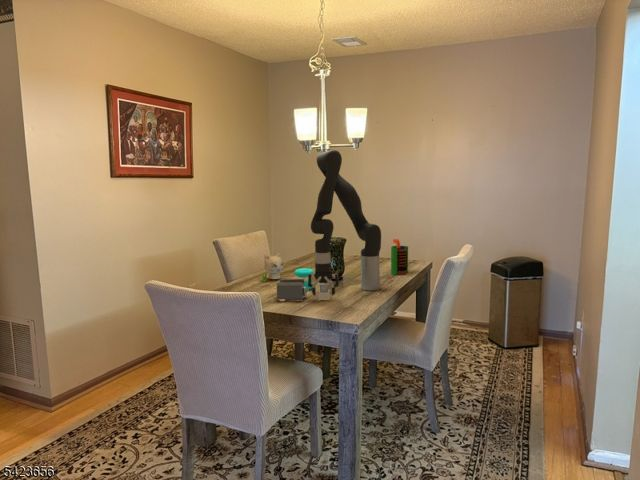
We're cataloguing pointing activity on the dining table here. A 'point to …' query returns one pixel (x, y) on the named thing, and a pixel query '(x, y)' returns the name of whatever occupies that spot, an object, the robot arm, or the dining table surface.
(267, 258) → the kitten
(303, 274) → the donuts
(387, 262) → the dining table surface
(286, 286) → the motor housing
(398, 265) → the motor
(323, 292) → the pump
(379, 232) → the robot arm
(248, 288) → the dining table surface
